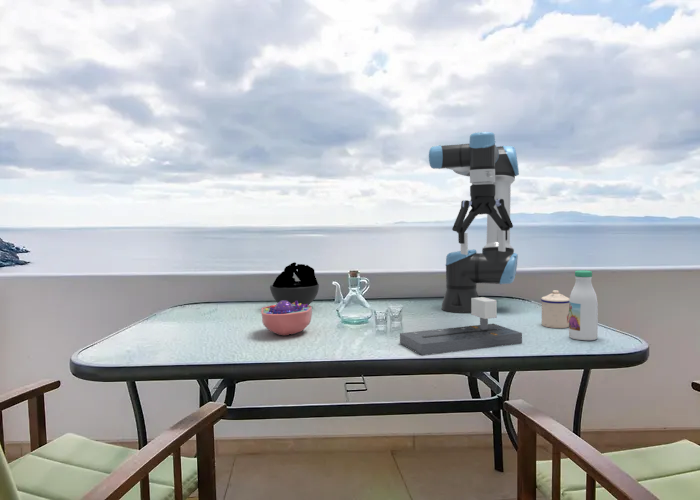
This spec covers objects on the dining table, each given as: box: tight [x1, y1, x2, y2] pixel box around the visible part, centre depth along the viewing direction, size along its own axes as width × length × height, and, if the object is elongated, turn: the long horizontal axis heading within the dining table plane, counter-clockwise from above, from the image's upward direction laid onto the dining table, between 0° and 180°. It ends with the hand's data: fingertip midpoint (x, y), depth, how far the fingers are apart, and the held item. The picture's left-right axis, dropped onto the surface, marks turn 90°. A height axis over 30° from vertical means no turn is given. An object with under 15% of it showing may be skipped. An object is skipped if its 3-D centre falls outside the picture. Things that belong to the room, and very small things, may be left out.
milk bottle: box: [568, 269, 599, 341], centre depth 150 cm, size 8×8×20 cm
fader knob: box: [470, 296, 498, 330], centre depth 149 cm, size 7×4×9 cm, turn 19°
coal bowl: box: [269, 261, 320, 306], centre depth 209 cm, size 20×20×19 cm
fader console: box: [399, 323, 523, 356], centre depth 147 cm, size 14×32×3 cm, turn 109°
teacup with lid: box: [540, 289, 570, 329], centre depth 169 cm, size 12×9×12 cm
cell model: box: [260, 301, 313, 336], centre depth 165 cm, size 17×20×11 cm
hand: (483, 252), depth 158 cm, fingers open, 13 cm apart
